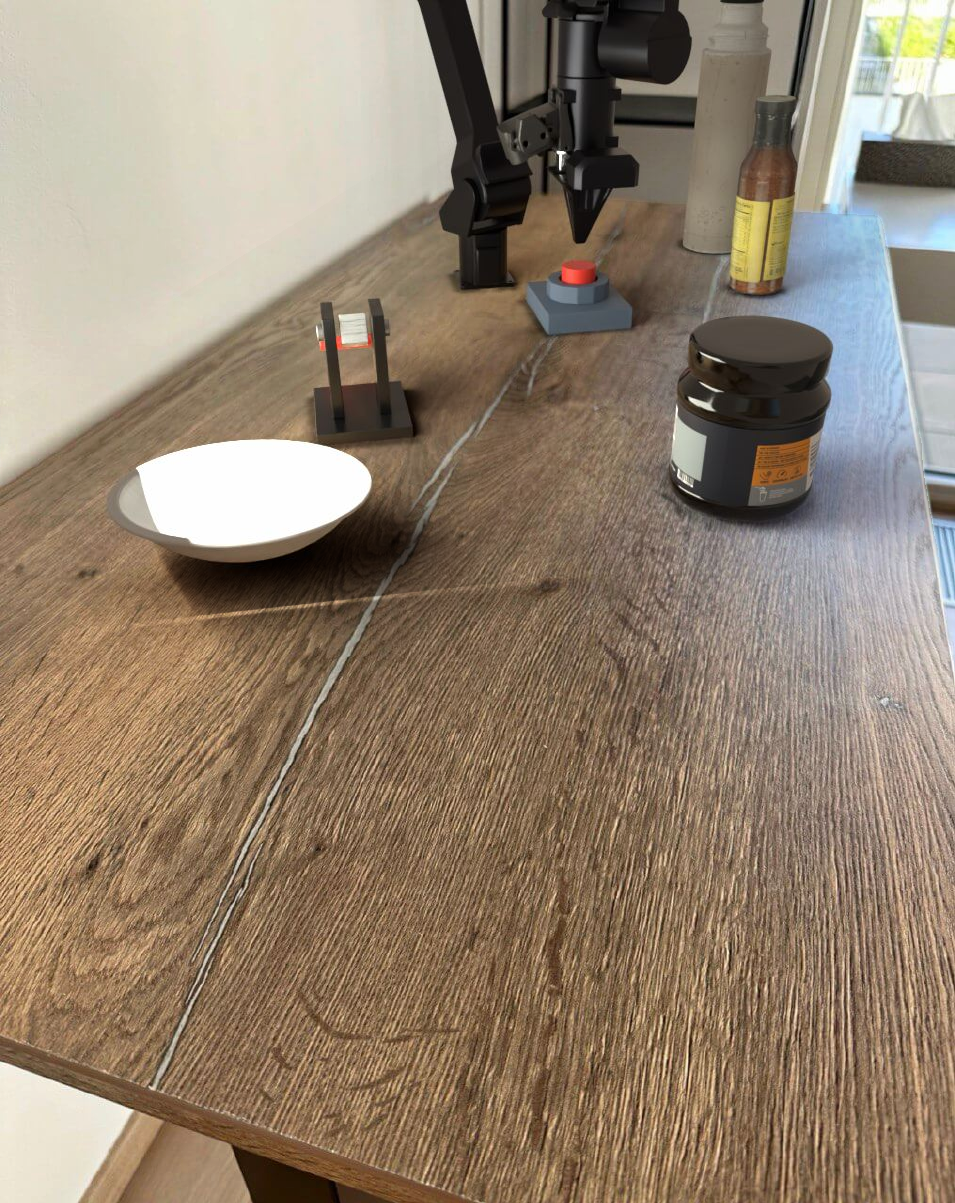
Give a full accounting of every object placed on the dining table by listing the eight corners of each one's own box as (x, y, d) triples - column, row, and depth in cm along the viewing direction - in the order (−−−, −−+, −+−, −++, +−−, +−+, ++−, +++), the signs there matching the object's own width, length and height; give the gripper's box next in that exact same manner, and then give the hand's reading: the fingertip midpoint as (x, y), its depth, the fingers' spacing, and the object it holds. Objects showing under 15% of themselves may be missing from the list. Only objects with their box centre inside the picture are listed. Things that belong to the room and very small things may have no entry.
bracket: (314, 399, 88) (301, 293, 82) (401, 392, 89) (394, 286, 83) (318, 448, 80) (303, 333, 74) (413, 439, 81) (406, 325, 75)
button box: (526, 301, 109) (526, 265, 106) (603, 295, 110) (605, 260, 107) (547, 335, 100) (548, 297, 97) (631, 328, 101) (634, 290, 99)
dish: (92, 611, 61) (71, 545, 58) (157, 499, 73) (143, 440, 70) (365, 609, 61) (358, 543, 58) (387, 497, 73) (382, 437, 70)
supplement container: (839, 511, 69) (876, 352, 62) (713, 541, 67) (737, 378, 60) (756, 450, 78) (780, 304, 71) (641, 474, 75) (654, 324, 68)
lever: (321, 357, 91) (318, 331, 90) (384, 352, 91) (382, 327, 91) (318, 346, 78) (314, 315, 77) (391, 340, 79) (388, 310, 78)
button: (558, 277, 104) (558, 261, 103) (590, 275, 104) (590, 258, 103) (565, 287, 101) (566, 271, 100) (599, 285, 101) (599, 268, 100)
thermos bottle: (737, 236, 128) (770, -11, 112) (750, 253, 122) (787, -6, 106) (678, 237, 129) (702, -9, 112) (688, 254, 122) (715, -5, 106)
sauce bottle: (778, 280, 113) (808, 92, 101) (786, 298, 108) (819, 101, 96) (721, 280, 113) (745, 92, 102) (727, 297, 108) (753, 102, 97)
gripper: (486, 66, 98) (488, 225, 107) (523, 92, 83) (522, 275, 92) (592, 61, 99) (585, 218, 108) (647, 87, 84) (633, 267, 93)
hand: (579, 243), depth 100 cm, fingers closed
